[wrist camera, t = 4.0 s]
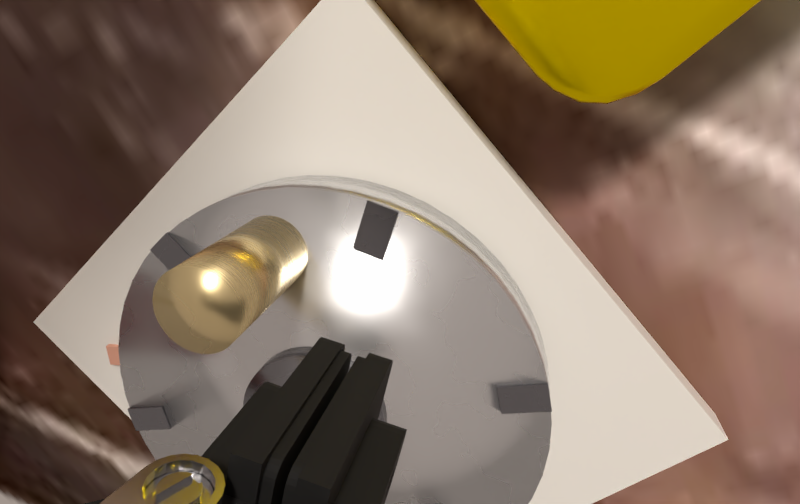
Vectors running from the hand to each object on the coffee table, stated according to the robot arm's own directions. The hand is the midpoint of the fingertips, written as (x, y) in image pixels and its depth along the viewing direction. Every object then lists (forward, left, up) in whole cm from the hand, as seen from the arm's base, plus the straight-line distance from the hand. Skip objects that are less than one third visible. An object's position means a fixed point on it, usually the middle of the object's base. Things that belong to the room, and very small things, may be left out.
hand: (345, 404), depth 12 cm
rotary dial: (+5, +1, -8) cm, 9 cm away
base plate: (+5, +1, -10) cm, 11 cm away
